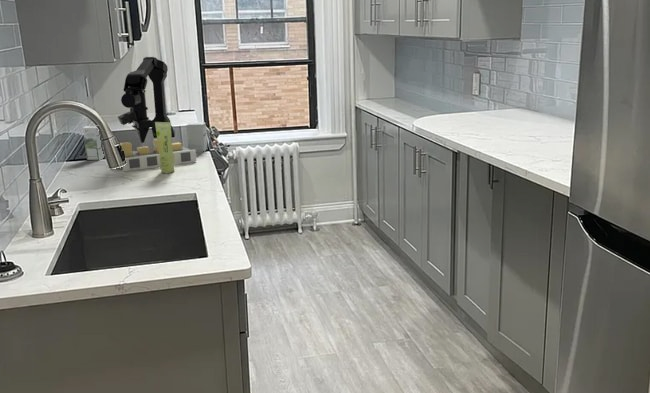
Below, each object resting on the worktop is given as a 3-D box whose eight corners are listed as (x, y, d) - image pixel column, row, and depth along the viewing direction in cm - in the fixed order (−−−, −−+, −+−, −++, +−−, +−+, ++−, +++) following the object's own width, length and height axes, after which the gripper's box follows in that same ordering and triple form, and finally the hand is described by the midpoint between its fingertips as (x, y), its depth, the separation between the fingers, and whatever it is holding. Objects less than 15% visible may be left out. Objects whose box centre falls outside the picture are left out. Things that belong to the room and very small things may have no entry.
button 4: (120, 158, 252) (119, 143, 251) (130, 157, 254) (129, 141, 253) (123, 159, 249) (121, 144, 247) (133, 158, 251) (131, 143, 249)
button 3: (138, 162, 257) (136, 147, 255) (147, 160, 259) (146, 146, 257) (141, 163, 253) (139, 148, 252) (150, 162, 255) (149, 147, 254)
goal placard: (122, 170, 242) (121, 158, 240) (195, 161, 257) (194, 149, 255) (123, 171, 241) (122, 158, 239) (196, 161, 256) (195, 149, 254)
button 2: (154, 154, 259) (153, 139, 258) (163, 153, 261) (162, 138, 260) (157, 155, 256) (155, 140, 254) (166, 154, 258) (165, 139, 256)
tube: (160, 173, 235) (155, 123, 230) (159, 171, 240) (154, 121, 234) (175, 172, 237) (170, 122, 231) (174, 169, 241) (169, 120, 236)
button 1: (171, 158, 264) (169, 143, 262) (180, 156, 266) (178, 142, 264) (174, 159, 260) (172, 144, 259) (183, 158, 262) (181, 143, 261)
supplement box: (204, 152, 275) (202, 124, 272) (188, 152, 275) (185, 124, 272) (207, 149, 282) (205, 121, 279) (191, 149, 282) (189, 122, 279)
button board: (112, 163, 256) (111, 153, 255) (181, 154, 271) (181, 145, 270) (120, 169, 244) (119, 159, 243) (192, 159, 259) (192, 150, 258)
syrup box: (105, 157, 267) (101, 124, 263) (99, 160, 262) (95, 127, 258) (92, 157, 268) (88, 124, 264) (86, 160, 262) (82, 127, 258)
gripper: (113, 104, 253) (117, 141, 257) (124, 108, 238) (128, 148, 242) (140, 102, 259) (143, 138, 263) (152, 106, 243) (156, 145, 247)
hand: (142, 142), depth 254 cm, fingers closed
